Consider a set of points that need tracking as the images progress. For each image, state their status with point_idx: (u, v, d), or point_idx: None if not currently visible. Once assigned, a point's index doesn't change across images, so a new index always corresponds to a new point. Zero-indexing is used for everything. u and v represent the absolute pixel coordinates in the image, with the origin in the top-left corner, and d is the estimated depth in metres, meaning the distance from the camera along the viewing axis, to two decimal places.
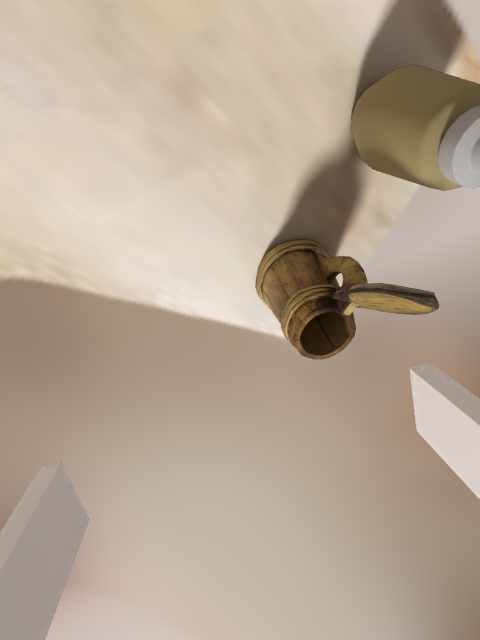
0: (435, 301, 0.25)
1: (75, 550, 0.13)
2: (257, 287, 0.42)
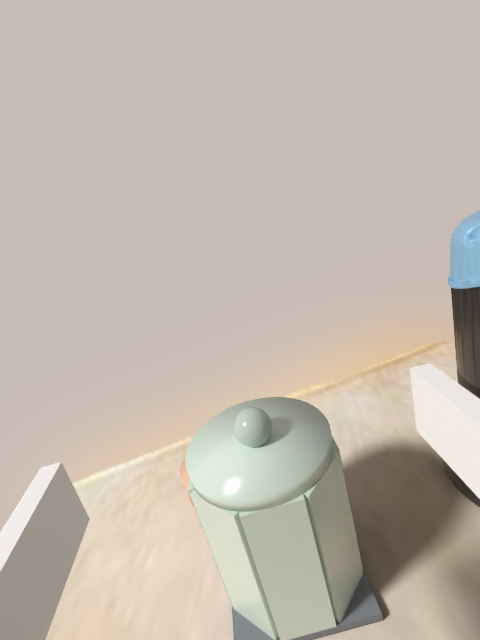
0: None
1: (75, 550, 0.13)
2: None
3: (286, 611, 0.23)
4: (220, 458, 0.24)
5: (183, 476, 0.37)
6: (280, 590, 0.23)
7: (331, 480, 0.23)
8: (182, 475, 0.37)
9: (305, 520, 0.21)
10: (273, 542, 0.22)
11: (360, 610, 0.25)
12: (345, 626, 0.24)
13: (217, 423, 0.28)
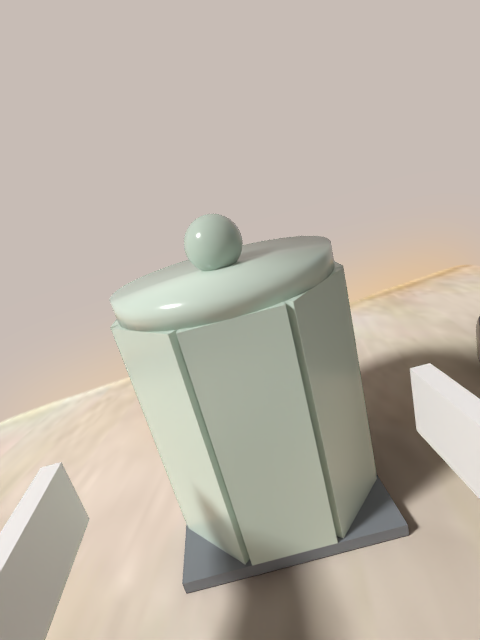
0: None
1: (75, 550, 0.13)
2: None
3: (259, 514, 0.15)
4: (161, 284, 0.16)
5: None
6: (249, 476, 0.14)
7: (331, 303, 0.14)
8: None
9: (287, 347, 0.13)
10: (235, 386, 0.13)
11: (374, 521, 0.16)
12: (351, 543, 0.16)
13: (170, 268, 0.20)
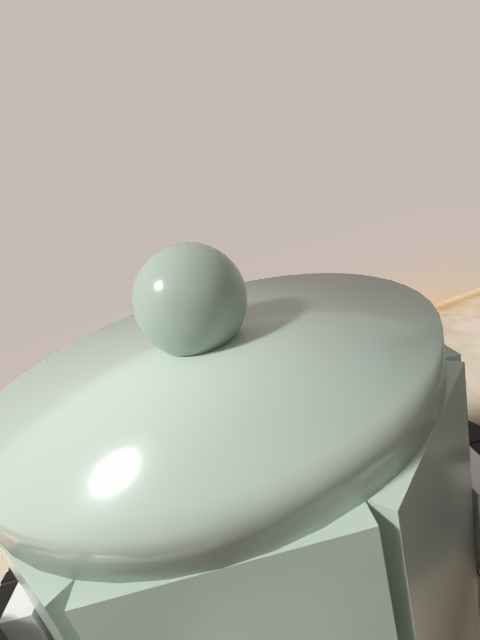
0: None
1: None
2: None
3: None
4: (83, 388, 0.08)
5: None
6: None
7: (450, 450, 0.06)
8: None
9: (374, 618, 0.05)
10: None
11: None
12: None
13: (122, 327, 0.12)
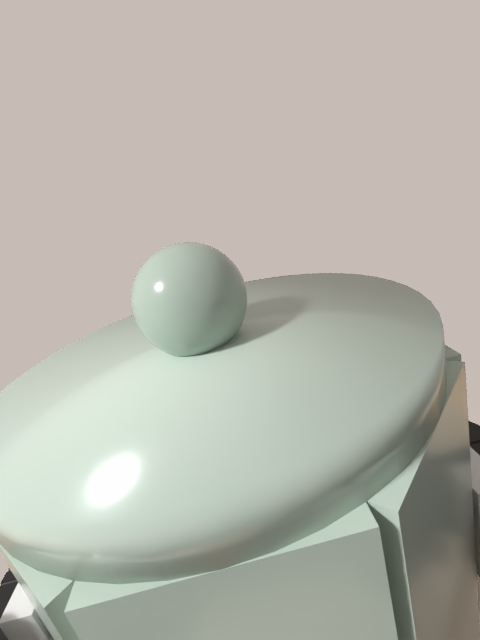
0: None
1: None
2: None
3: None
4: (83, 388, 0.08)
5: None
6: None
7: (451, 451, 0.06)
8: None
9: (374, 619, 0.05)
10: None
11: None
12: None
13: (122, 327, 0.12)
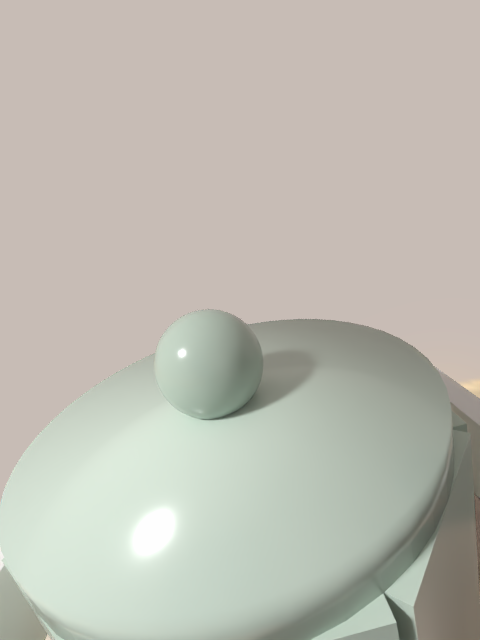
0: None
1: None
2: None
3: None
4: (109, 451, 0.08)
5: None
6: None
7: (458, 522, 0.07)
8: None
9: None
10: None
11: None
12: None
13: (138, 372, 0.12)
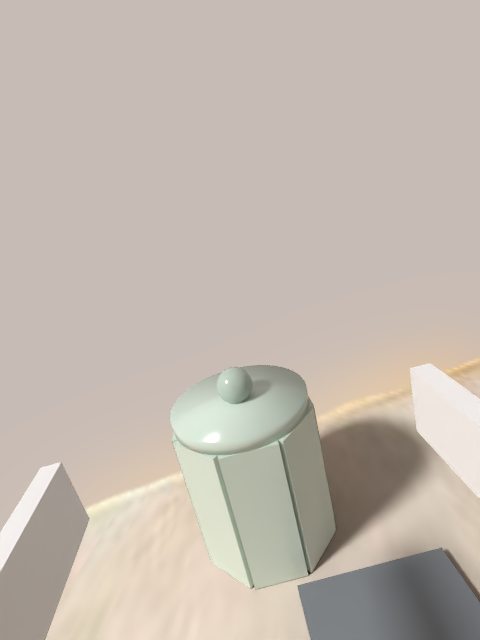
0: None
1: (75, 550, 0.13)
2: None
3: (260, 558, 0.25)
4: (202, 413, 0.26)
5: None
6: (255, 535, 0.24)
7: (305, 432, 0.24)
8: None
9: (279, 465, 0.23)
10: (249, 486, 0.23)
11: None
12: None
13: (202, 386, 0.30)
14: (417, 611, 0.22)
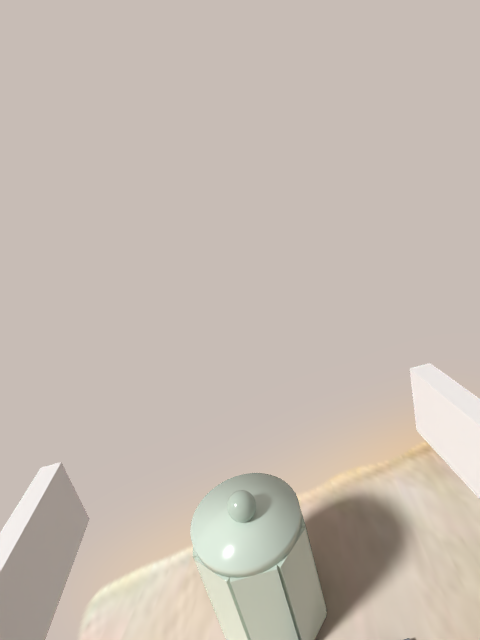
0: None
1: (75, 550, 0.13)
2: None
3: None
4: (216, 531, 0.32)
5: None
6: (260, 632, 0.31)
7: (299, 550, 0.31)
8: None
9: (278, 583, 0.29)
10: (255, 598, 0.30)
11: None
12: None
13: (215, 496, 0.36)
14: None
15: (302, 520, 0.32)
